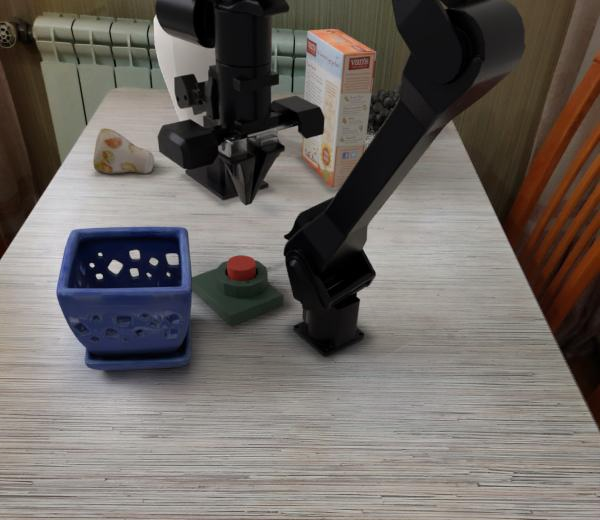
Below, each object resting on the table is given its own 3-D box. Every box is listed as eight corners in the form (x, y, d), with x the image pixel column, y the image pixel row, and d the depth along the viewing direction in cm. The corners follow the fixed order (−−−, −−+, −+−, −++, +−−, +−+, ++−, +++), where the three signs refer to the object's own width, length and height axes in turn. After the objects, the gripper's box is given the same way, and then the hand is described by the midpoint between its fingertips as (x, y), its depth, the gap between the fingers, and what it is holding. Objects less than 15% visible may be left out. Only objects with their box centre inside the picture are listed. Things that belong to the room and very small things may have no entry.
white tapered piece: (157, 183, 102) (118, 134, 94) (113, 200, 106) (72, 155, 98) (166, 155, 106) (129, 106, 98) (123, 173, 110) (84, 127, 102)
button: (261, 276, 77) (261, 264, 76) (237, 285, 75) (237, 273, 74) (245, 264, 79) (245, 252, 78) (222, 272, 77) (221, 260, 76)
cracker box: (362, 186, 104) (378, 50, 89) (330, 191, 102) (341, 53, 87) (330, 154, 113) (339, 26, 98) (300, 158, 111) (305, 28, 97)
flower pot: (198, 308, 77) (189, 222, 68) (200, 378, 67) (191, 288, 59) (90, 314, 75) (68, 226, 67) (77, 386, 66) (50, 294, 57)
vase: (153, 140, 114) (129, -49, 94) (222, 127, 120) (213, -53, 100) (187, 169, 106) (168, -31, 85) (259, 153, 112) (258, -38, 92)
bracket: (268, 190, 101) (268, 123, 94) (223, 203, 97) (219, 135, 90) (229, 164, 108) (227, 101, 100) (185, 176, 104) (179, 110, 96)
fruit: (348, 82, 115) (428, 85, 114) (348, 84, 122) (422, 87, 122) (345, 132, 119) (422, 135, 118) (345, 131, 126) (417, 134, 126)
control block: (284, 304, 78) (285, 281, 76) (231, 327, 74) (229, 303, 72) (242, 270, 83) (241, 247, 81) (189, 288, 80) (187, 265, 77)
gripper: (270, 29, 70) (269, 161, 81) (122, 51, 61) (143, 197, 72) (332, 53, 64) (322, 193, 75) (178, 82, 55) (192, 236, 66)
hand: (246, 203), depth 72 cm, fingers closed
